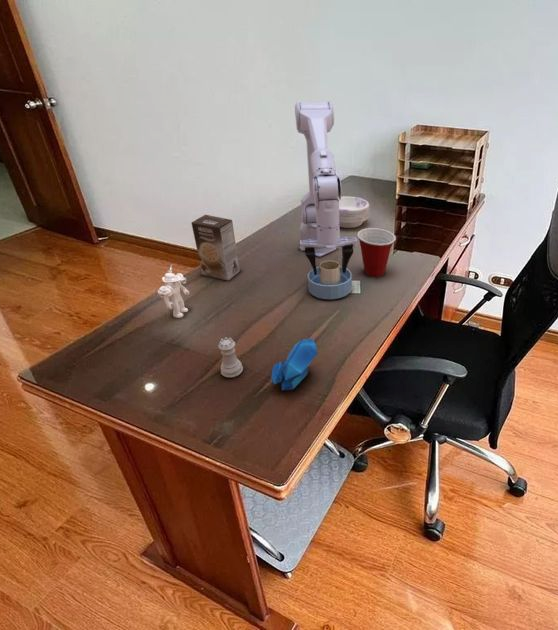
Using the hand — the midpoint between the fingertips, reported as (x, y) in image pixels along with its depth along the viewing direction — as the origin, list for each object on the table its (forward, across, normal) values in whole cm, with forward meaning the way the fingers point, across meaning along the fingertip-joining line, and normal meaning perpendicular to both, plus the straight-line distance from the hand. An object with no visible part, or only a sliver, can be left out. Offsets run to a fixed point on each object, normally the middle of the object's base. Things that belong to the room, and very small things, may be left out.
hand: (329, 272), depth 117 cm
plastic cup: (+6, +14, +8) cm, 17 cm away
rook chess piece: (+5, -24, -31) cm, 39 cm away
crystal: (+5, -11, -35) cm, 37 cm away
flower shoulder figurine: (+6, -38, -6) cm, 39 cm away
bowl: (+5, 0, 0) cm, 5 cm away
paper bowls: (+6, +12, +46) cm, 48 cm away
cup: (+5, 0, 0) cm, 5 cm away
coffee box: (+6, -30, +14) cm, 34 cm away
